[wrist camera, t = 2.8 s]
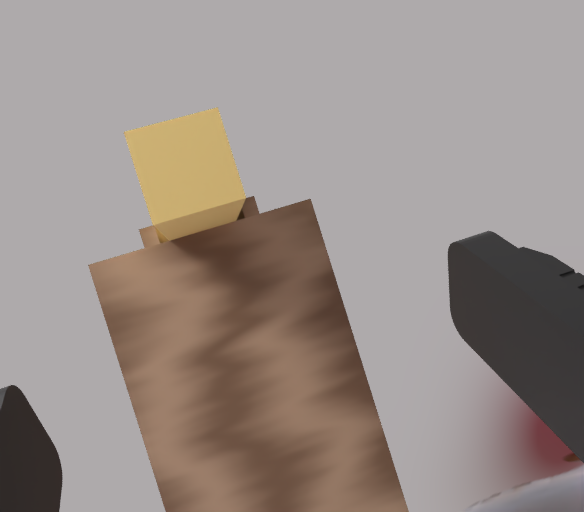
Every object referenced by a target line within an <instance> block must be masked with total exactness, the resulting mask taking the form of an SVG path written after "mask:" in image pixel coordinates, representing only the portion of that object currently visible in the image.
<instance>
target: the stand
mask: <svg viewBox="0 0 584 512" xmlns="http://www.w3.org/2000/svg"><path fill="white" fill-rule="evenodd" d="M140 235H141V238H142V241H143V244H144V247H145V248H144V249H140V250H137V251H133V252H131V253H127V254H123V255H120V256H117V257H114V258H110V259H107V260H103V261H100V262H97V263H93V264H90V265H88V266H89V269H90V272H91V275H92V279H93V282H94V285H95V288H96V291H97V294H98V298H99V301H100V304H101V307H102V310H103V314H104V317H105V320H106V323H107V326H108V329H109V333H110V336H111V339H112V342H113V345H114V348H115V352H116V355H117V358H118V361H119V364H120V367H121V371H122V374H123V377H124V380H125V383H126V386H127V390H128V392H129V396H130V399H131V402H132V406H133V409H134V412H135V415H136V418H137V421H138V424H139V428H140V431H141V434H142V437H143V440H144V444H145V447H146V450H147V453H148V456H149V460H150V463H151V466H152V469H153V472H154V475H155V478H156V482H157V485H158V488H159V491H160V494H161V498H162V501H163V504H164V507H165V510H166V512H409V511H408V508H407V505H406V502H405V499H404V495H403V492H402V489H401V486H400V483H399V480H398V476H397V473H396V470H395V467H394V464H393V461H392V457H391V454H390V451H389V448H388V444H387V441H386V438H385V435H384V432H383V428H382V425H381V422H380V419H379V416H378V412H377V409H376V406H375V403H374V400H373V397H372V393H371V390H370V387H369V384H368V381H367V377H366V374H365V371H364V368H363V365H362V361H361V358H360V355H359V352H358V349H357V346H356V342H355V340H354V336H353V333H352V330H351V326H350V323H349V320H348V317H347V314H346V311H345V308H344V304H343V301H342V298H341V295H340V292H339V288H338V285H337V282H336V278H335V275H334V272H333V269H332V266H331V263H330V259H329V256H328V253H327V250H326V247H325V243H324V240H323V237H322V234H321V231H320V227H319V224H318V221H317V218H316V215H315V212H314V209H313V205H312V202H311V199H308V200H305V201H302V202H298V203H295V204H291V205H288V206H285V207H281V208H278V209H274V210H271V211H268V212H264V213H261V214H259V211H258V208H257V205H256V201H255V198H254V196H252V197H249V198H246V199H245V202H244V204H243V206H242V209H241V211H240V213H239V215H238V218H237V220H236V221H234V222H231V223H228V224H224V225H221V226H217V227H214V228H211V229H207V230H204V231H201V232H197V233H194V234H191V235H187V236H184V237H181V238H177V239H174V240H170V241H169V240H168V239H167V238H166V237H165V236H164V235H163V234H162V233H161V232H160V231H159V230H158V229H157V228H156V227H155V226H150V227H146V228H143V229H140Z"/></svg>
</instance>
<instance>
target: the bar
mask: <svg viewBox="0 0 584 512" xmlns="http://www.w3.org/2000/svg"><path fill="white" fill-rule="evenodd" d="M124 134H125V137H126V140H127V144H128V147H129V150H130V153H131V157H132V160H133V163H134V166H135V169H136V173H137V176H138V179H139V182H140V185H141V188H142V192H143V195H144V198H145V200H146V204H147V208H148V211H149V214H150V217H151V220H152V223H153V226H155V227H156V228H157V229H158V230H159V231H160V232H161V233H162V234H163V235H164V236H165V237H166V238H167V239H168V240H169V241H170V240H174V239H177V238H181V237H184V236H187V235H191V234H194V233H197V232H201V231H204V230H207V229H211V228H214V227H217V226H221V225H224V224H228V223H231V222H234V221H236V220H237V218H238V215H239V213H240V211H241V209H242V206H243V204H244V202H245V199H246V196H245V193H244V189H243V186H242V183H241V180H240V177H239V173H238V170H237V167H236V164H235V161H234V158H233V154H232V151H231V148H230V145H229V142H228V138H227V135H226V132H225V129H224V126H223V123H222V119H221V116H220V113H219V110H218V108H214V109H210V110H206V111H202V112H198V113H195V114H191V115H187V116H183V117H179V118H176V119H172V120H168V121H164V122H160V123H156V124H152V125H148V126H145V127H141V128H137V129H133V130H129V131H126V132H124Z"/></svg>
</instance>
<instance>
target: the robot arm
mask: <svg viewBox="0 0 584 512" xmlns="http://www.w3.org/2000/svg"><path fill="white" fill-rule="evenodd" d="M448 271H449V293H450V311H451V316H452V319H453V322H454V325H455V327H456V329H457V331H458V332H459V334H460V336H461V337H462V338H463V339H464V341H465V342H466V343H467V344H468V345H469V346H470V347H471V348H472V349H473V350H474V351H475V352H476V353H477V354H478V355H479V356H480V357H481V358H482V359H483V360H484V361H485V362H486V363H487V364H488V365H489V366H490V367H491V368H492V369H493V370H494V371H495V372H496V373H497V374H498V375H499V377H500V378H501V379H502V380H503V381H504V382H505V383H506V384H507V385H508V386H509V387H510V388H511V389H512V390H513V391H514V392H515V393H516V394H517V395H518V396H519V397H520V398H521V399H522V400H523V401H524V402H525V403H526V404H527V405H528V406H529V407H530V408H531V409H532V410H533V411H534V412H535V413H536V415H538V416H539V418H540V419H541V420H543V422H544V423H545V424H546V425H547V426H548V427H549V428H550V429H551V430H552V431H553V432H554V433H555V434H556V435H557V436H558V437H559V438H560V439H561V440H562V441H563V442H564V443H565V444H566V445H567V446H568V447H569V448H570V449H571V450H572V451H573V452H574V454H575V455H576V456H577V457H578V458H579V459H580V460H581V461H582V462H583V463H584V275H582V274H580V273H575V272H574V269H572V268H570V267H569V266H568V265H566V264H564V263H563V262H561V261H560V260H558V259H556V258H555V257H553V256H551V255H548V254H544V253H541V252H538V251H535V250H532V249H528V248H525V247H522V248H519V249H518V248H517V247H515V246H514V245H512V244H511V243H509V242H508V241H506V240H505V239H503V238H502V237H500V236H499V235H497V234H496V233H494V232H491V231H487V232H484V233H481V234H478V235H475V236H472V237H469V238H465V239H462V240H459V241H456V242H453V243H452V244H450V246H449V249H448ZM61 490H62V468H61V463H60V459H59V455H58V453H57V450H56V448H55V446H54V444H53V442H52V440H51V439H50V437H49V436H48V434H47V432H46V431H45V429H44V427H43V426H42V424H41V422H40V421H39V419H38V417H37V416H36V414H35V412H34V411H33V409H32V408H31V406H30V404H29V402H28V401H27V399H26V397H25V396H24V394H23V393H22V391H21V390H20V389H19V388H18V387H16V386H14V385H11V386H8V387H5V388H2V389H0V512H59V508H60V499H61Z"/></svg>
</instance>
